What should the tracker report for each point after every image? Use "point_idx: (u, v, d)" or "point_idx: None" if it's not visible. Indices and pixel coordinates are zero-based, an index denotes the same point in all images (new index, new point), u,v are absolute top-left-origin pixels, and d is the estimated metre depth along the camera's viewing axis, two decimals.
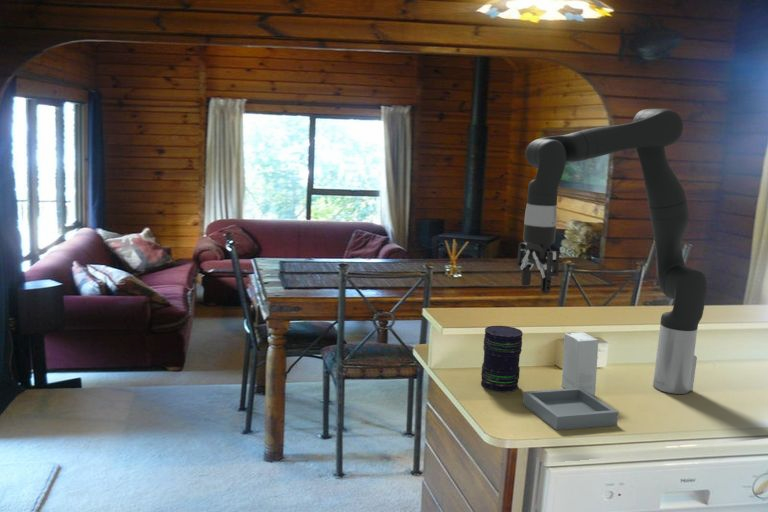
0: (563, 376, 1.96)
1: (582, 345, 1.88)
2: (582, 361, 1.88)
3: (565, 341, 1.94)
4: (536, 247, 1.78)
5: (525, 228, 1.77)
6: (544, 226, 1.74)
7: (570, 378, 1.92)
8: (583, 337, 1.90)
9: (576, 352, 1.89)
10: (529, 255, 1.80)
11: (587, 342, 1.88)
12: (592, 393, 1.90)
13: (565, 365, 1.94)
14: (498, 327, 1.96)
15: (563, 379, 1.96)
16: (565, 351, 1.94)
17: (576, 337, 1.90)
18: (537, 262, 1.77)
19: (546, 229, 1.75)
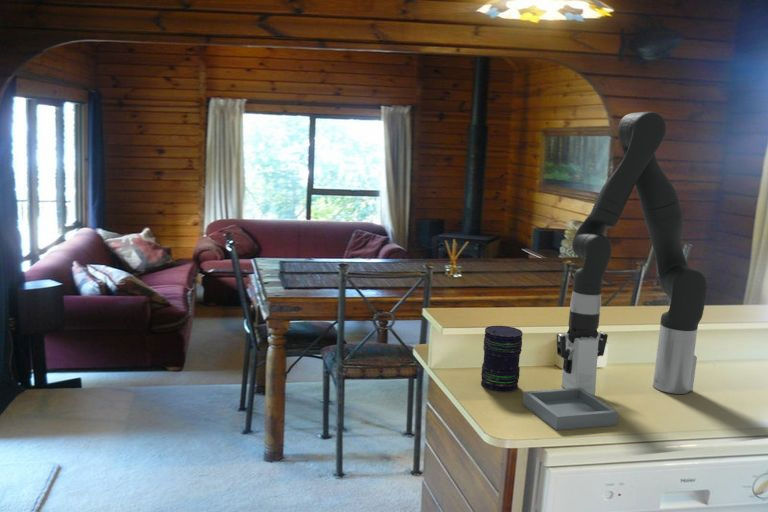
0: (563, 376, 1.96)
1: (582, 345, 1.88)
2: (582, 361, 1.88)
3: None
4: (587, 332, 1.90)
5: (590, 318, 1.87)
6: None
7: (570, 378, 1.92)
8: None
9: (576, 352, 1.89)
10: None
11: (588, 342, 1.88)
12: (592, 393, 1.90)
13: None
14: (498, 327, 1.96)
15: (563, 379, 1.96)
16: None
17: None
18: None
19: None
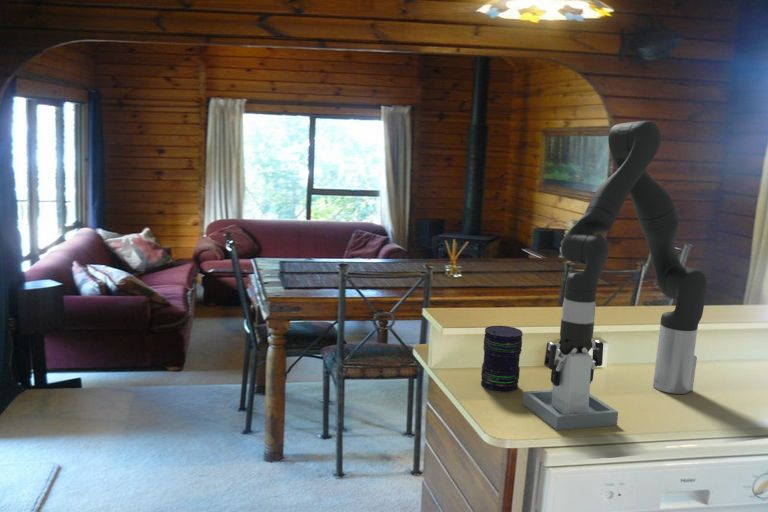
0: (553, 394, 1.79)
1: (574, 361, 1.71)
2: (574, 379, 1.72)
3: None
4: (580, 343, 1.74)
5: (583, 327, 1.70)
6: None
7: (561, 398, 1.75)
8: (575, 353, 1.74)
9: (567, 369, 1.72)
10: None
11: (580, 359, 1.71)
12: None
13: None
14: (498, 327, 1.96)
15: (553, 398, 1.79)
16: None
17: None
18: None
19: None
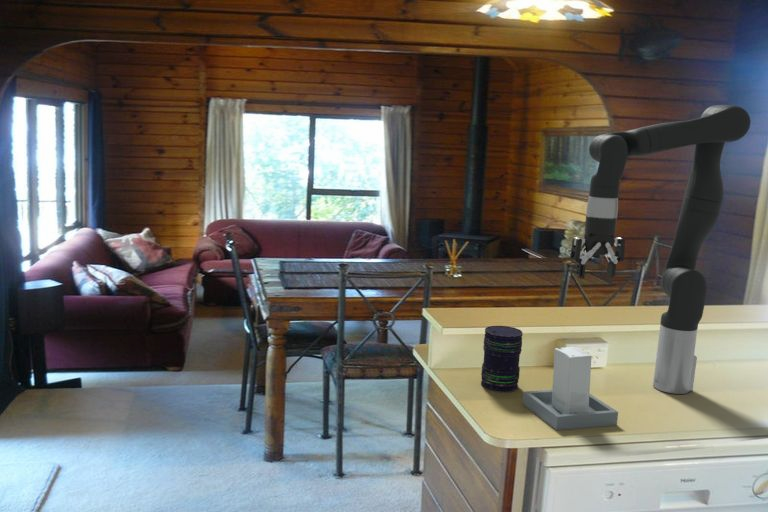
0: (553, 394, 1.79)
1: (574, 361, 1.71)
2: (574, 379, 1.72)
3: (555, 357, 1.78)
4: (604, 238, 1.87)
5: (607, 222, 1.83)
6: None
7: (561, 398, 1.75)
8: (575, 353, 1.74)
9: (567, 369, 1.72)
10: None
11: (580, 359, 1.71)
12: None
13: (555, 383, 1.78)
14: (498, 327, 1.96)
15: (553, 398, 1.79)
16: (555, 368, 1.78)
17: (567, 353, 1.74)
18: (610, 251, 1.87)
19: None
